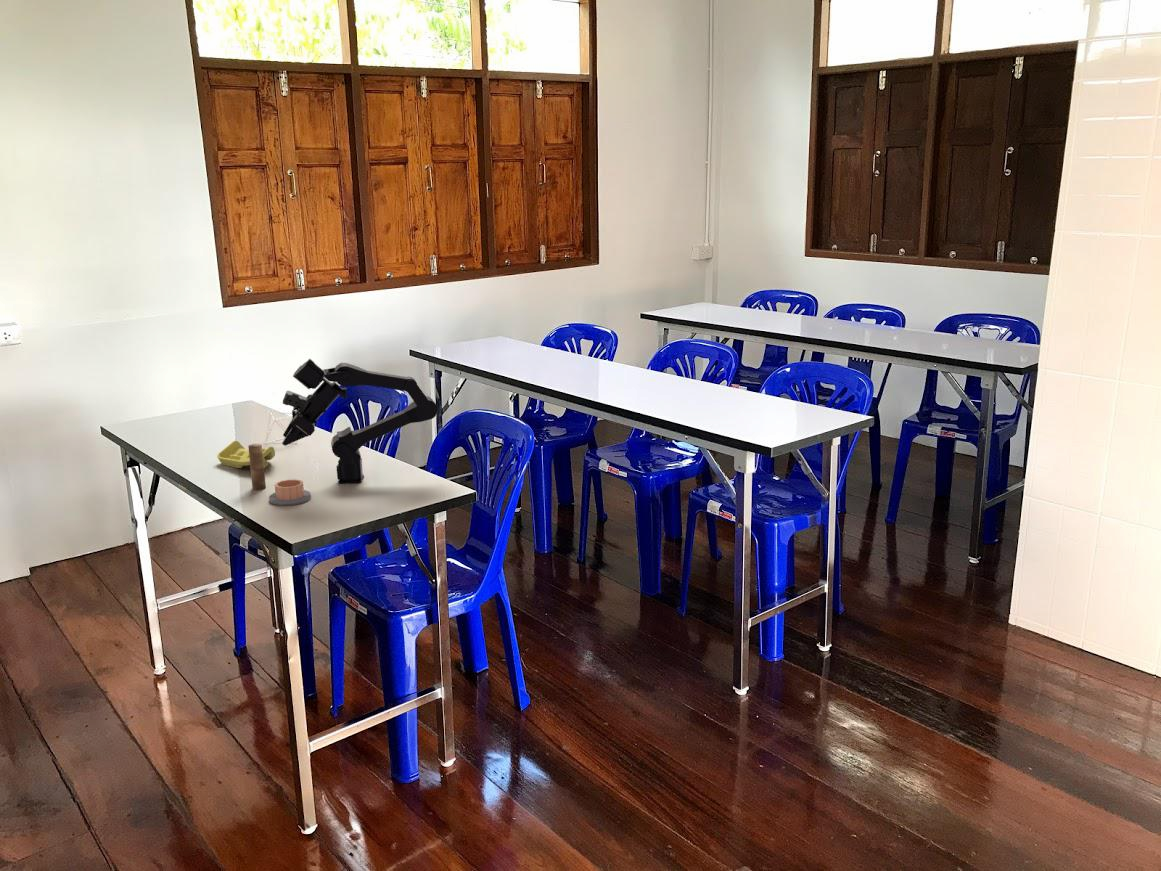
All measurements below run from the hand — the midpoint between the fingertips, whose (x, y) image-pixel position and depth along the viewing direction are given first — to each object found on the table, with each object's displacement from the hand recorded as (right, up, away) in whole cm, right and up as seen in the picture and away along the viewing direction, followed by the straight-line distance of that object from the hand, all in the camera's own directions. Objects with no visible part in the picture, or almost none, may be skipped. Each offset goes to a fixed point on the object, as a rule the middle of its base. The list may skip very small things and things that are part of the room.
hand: (283, 440), depth 272 cm
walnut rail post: (-7, -13, +1) cm, 15 cm away
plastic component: (-18, -8, +23) cm, 30 cm away
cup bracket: (+4, -16, -8) cm, 19 cm away
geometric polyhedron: (-15, -1, +50) cm, 53 cm away
